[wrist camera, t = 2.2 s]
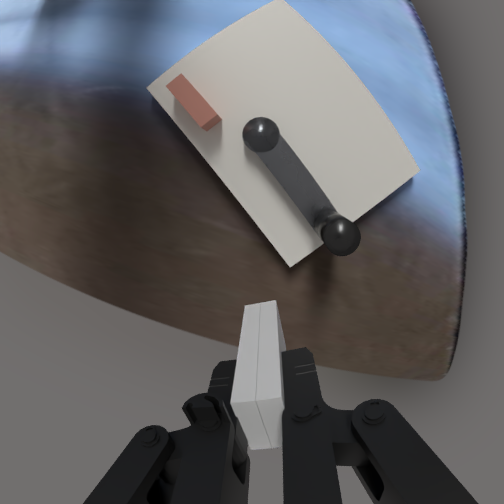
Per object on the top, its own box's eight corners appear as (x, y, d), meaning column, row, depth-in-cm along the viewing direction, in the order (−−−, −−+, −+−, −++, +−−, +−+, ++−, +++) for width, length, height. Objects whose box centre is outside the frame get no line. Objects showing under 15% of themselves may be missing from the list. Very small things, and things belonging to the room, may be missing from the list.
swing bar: (236, 133, 27) (226, 121, 20) (264, 112, 26) (264, 94, 19) (319, 242, 30) (335, 265, 23) (346, 222, 29) (369, 239, 22)
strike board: (152, 91, 28) (135, 81, 23) (279, 5, 24) (281, -16, 19) (288, 261, 33) (292, 277, 28) (412, 170, 29) (433, 171, 24)
